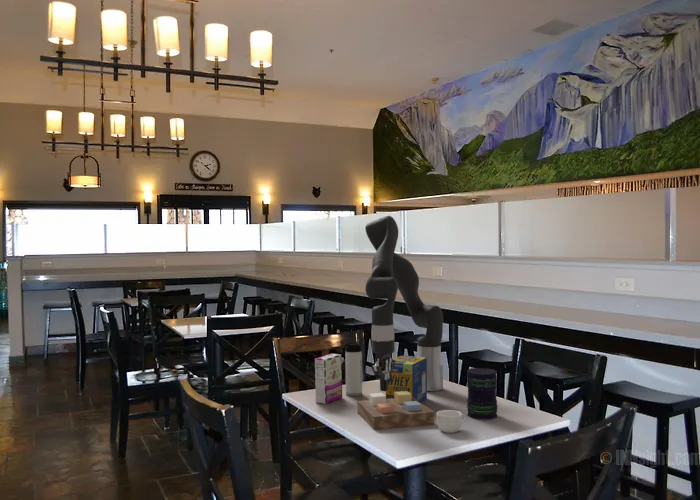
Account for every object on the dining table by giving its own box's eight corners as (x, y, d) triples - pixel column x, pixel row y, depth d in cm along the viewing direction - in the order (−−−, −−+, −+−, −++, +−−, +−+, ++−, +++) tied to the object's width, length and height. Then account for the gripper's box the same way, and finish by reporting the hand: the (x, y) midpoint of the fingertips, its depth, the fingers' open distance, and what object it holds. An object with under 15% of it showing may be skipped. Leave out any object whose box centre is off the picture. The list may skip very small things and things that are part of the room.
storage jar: (491, 421, 194) (490, 375, 194) (462, 417, 199) (462, 372, 199) (501, 414, 202) (501, 369, 202) (473, 410, 208) (473, 366, 208)
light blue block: (416, 413, 198) (416, 400, 198) (421, 416, 194) (421, 404, 194) (403, 414, 197) (402, 401, 197) (407, 418, 193) (407, 405, 193)
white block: (382, 404, 205) (381, 392, 205) (386, 408, 200) (385, 396, 200) (369, 405, 204) (368, 393, 204) (372, 409, 199) (372, 397, 199)
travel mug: (342, 393, 233) (341, 342, 233) (357, 391, 236) (357, 340, 236) (349, 397, 227) (348, 344, 227) (365, 395, 230) (364, 342, 230)
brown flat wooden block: (412, 408, 211) (412, 396, 211) (434, 424, 191) (434, 411, 191) (357, 412, 206) (357, 401, 206) (373, 429, 187) (373, 416, 186)
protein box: (385, 405, 215) (384, 362, 215) (401, 395, 229) (401, 354, 229) (412, 408, 210) (412, 364, 210) (427, 398, 224) (427, 356, 224)
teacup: (446, 436, 180) (446, 418, 180) (431, 429, 186) (431, 412, 186) (473, 431, 184) (472, 413, 184) (457, 424, 191) (457, 407, 191)
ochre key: (407, 402, 207) (407, 391, 207) (411, 406, 202) (411, 394, 202) (394, 403, 206) (394, 391, 206) (398, 407, 201) (398, 395, 201)
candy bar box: (331, 396, 229) (331, 353, 229) (342, 398, 226) (342, 354, 226) (314, 403, 220) (314, 358, 219) (325, 404, 217) (325, 359, 217)
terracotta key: (390, 415, 196) (390, 402, 196) (394, 419, 192) (394, 406, 191) (376, 416, 195) (376, 404, 195) (380, 420, 190) (380, 407, 190)
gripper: (381, 334, 205) (382, 385, 206) (363, 340, 194) (364, 394, 194) (401, 335, 202) (403, 387, 202) (384, 342, 190) (385, 396, 190)
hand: (384, 390), depth 198 cm, fingers closed
